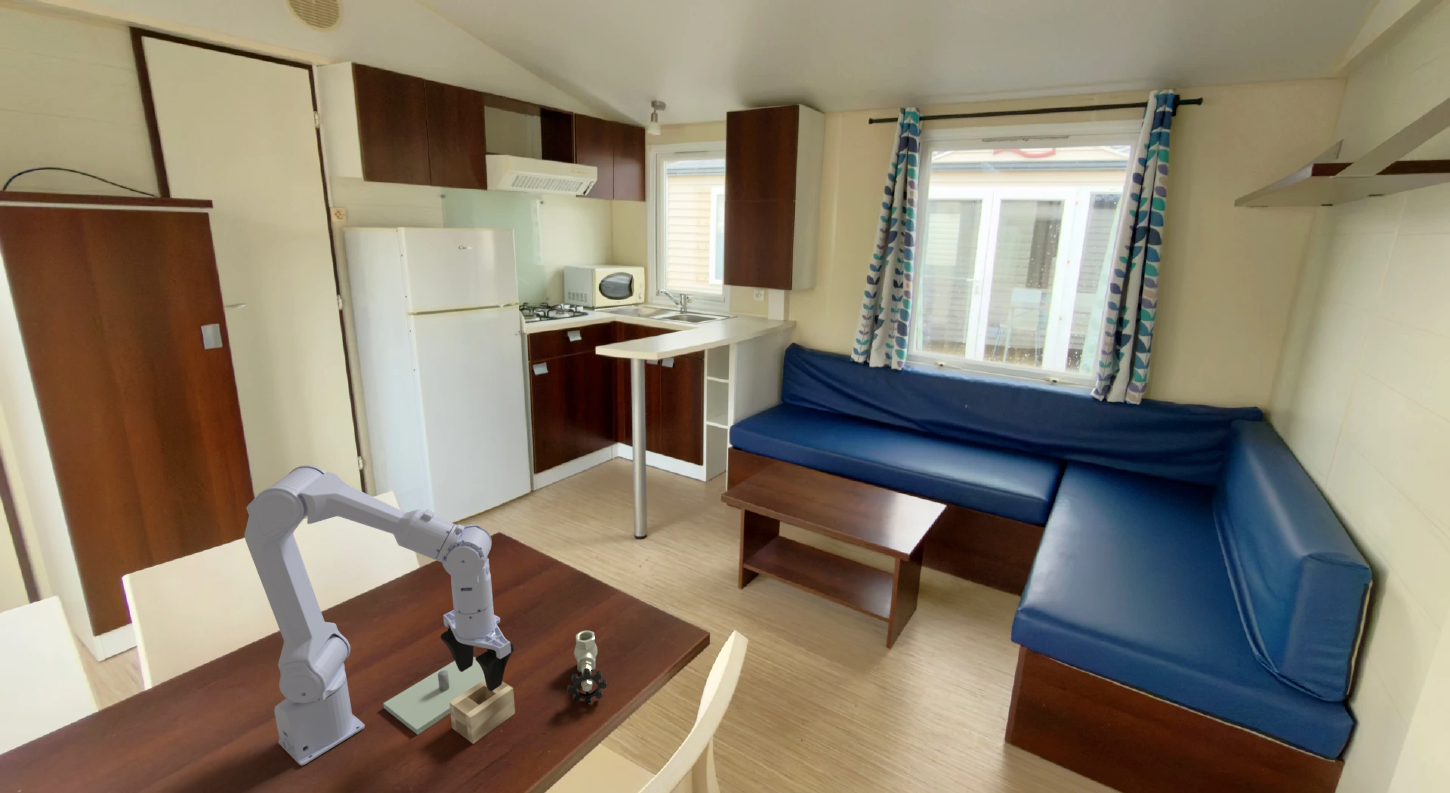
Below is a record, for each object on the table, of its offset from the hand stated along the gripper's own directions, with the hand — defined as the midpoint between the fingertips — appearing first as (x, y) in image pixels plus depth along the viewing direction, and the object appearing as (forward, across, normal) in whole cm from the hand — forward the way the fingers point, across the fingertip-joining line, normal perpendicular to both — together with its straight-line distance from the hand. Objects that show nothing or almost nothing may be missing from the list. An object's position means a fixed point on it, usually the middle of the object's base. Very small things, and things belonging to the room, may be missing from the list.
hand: (480, 677), depth 102 cm
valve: (+9, -7, -17) cm, 20 cm away
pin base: (+8, +11, 0) cm, 14 cm away
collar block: (+8, 0, 0) cm, 8 cm away
